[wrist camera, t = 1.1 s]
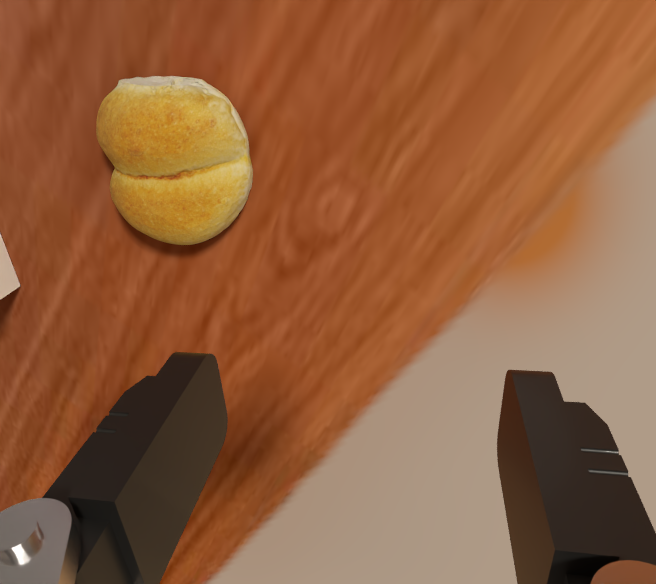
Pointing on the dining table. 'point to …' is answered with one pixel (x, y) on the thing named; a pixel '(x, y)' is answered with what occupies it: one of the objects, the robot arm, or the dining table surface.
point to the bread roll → (175, 157)
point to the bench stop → (6, 272)
